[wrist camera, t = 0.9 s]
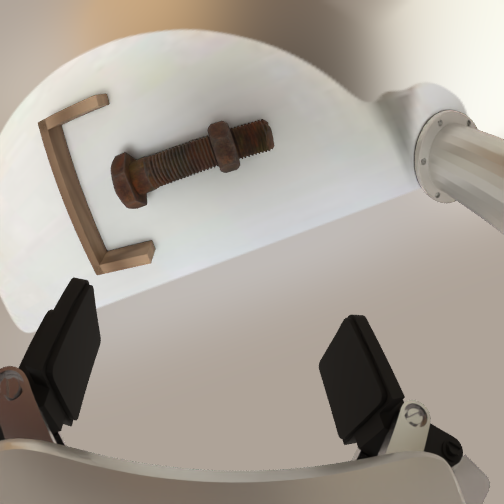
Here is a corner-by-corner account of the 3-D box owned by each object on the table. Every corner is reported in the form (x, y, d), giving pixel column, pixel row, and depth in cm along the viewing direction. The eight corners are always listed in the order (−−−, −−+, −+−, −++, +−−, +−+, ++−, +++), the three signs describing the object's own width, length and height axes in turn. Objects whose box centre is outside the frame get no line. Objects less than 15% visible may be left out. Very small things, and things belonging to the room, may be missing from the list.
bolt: (264, 135, 30) (133, 180, 30) (257, 97, 26) (112, 148, 26) (282, 172, 27) (134, 221, 27) (277, 131, 23) (108, 190, 23)
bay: (106, 93, 24) (95, 94, 21) (155, 249, 33) (150, 263, 31) (51, 118, 24) (37, 122, 21) (104, 261, 33) (96, 275, 31)
